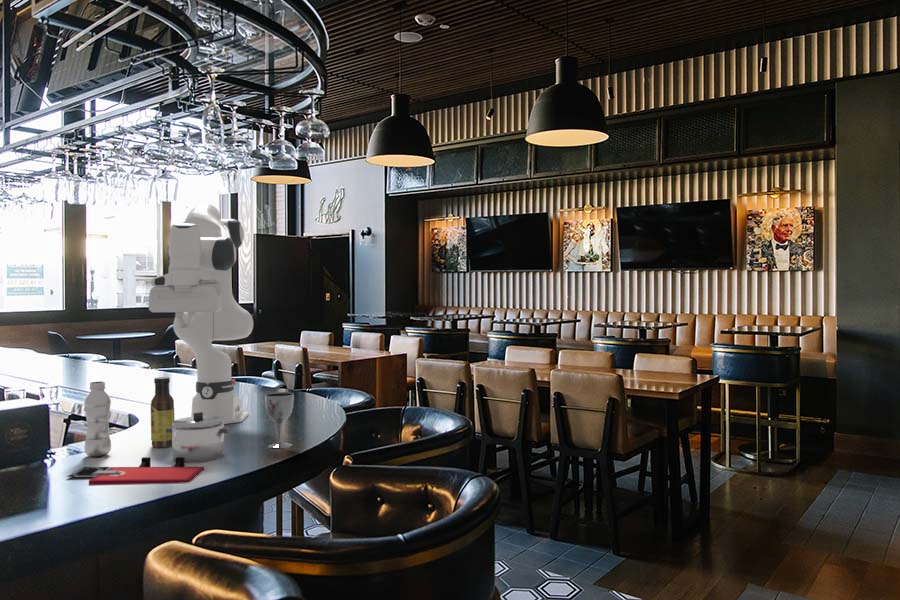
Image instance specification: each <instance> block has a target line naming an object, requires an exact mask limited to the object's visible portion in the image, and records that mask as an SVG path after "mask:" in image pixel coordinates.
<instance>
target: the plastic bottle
mask: <svg viewBox="0 0 900 600" xmlns="http://www.w3.org/2000/svg"><path fill="white" fill-rule="evenodd" d="M111 403H112V401H111V397H110V396H109V395H108V393H107V392H106V382H105V381H91V382H90V383H89V393H88V394H87V396H86V398H85V400H84V411H85V416H86V418H85V419H86V435H85V436H86V437H85V441H84V453H85V454H86V456H88V457H102V456H105V455H108V454H109V453H110V452H111V449H112V442H111V441H112V440H111V437H110V427H109V425H110V423H109V422H110V421H109V420H110V410H111Z"/></svg>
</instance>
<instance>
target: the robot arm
mask: <svg viewBox="0 0 900 600" xmlns="http://www.w3.org/2000/svg"><path fill="white" fill-rule="evenodd" d="M244 237H245V230H244V227H243V225H242V223H241V222H240V221H239V220H238V219H235V218H228V219H227V218H222V216H221V213H220V211H219V210H218V208H217V207H215V206H214V205H212V204H209V203H201V204H198V205H196V206H194V208H192V209H191V210H190V212H189V213H188V214H187V216H186V218H185V220H184V222H182V223H174V224H172V225H171V227H170V230H169V237H168V245H167V261H168V262H169V266H168V273H165V274H163V275H160V276H156V277H154V278H152V279H150V285H151V286H152V288H150V290H149V294H148V310H149V311H150V312H151V313H175V315H174V320H173V325H172V327H173V332H174V334H175V335H176V336H177V338H178V339H180V340H182V341H183V342H185V344H186V345H187V346H188V347H189V348H190V349H191V351H192V353H193V354H194V357H195V363H196V364H195V365H196V374H197V376H196V377H197V378H196V379H197V380H196V382H195V392H196V394H195V396H193V397H192V399H191V401H192V404H191V414H190V415H191V416H190V417H194V415H193V413H196V412H203V416H218V417H222V418H224V425H226V424H227V425H228V424H235V423H243V421H244V420H245V419H246V418H247V417H248V416H249V412H248V411H243V409H242V399H241V398H240V397H239V396H238V394H237V393H236V392H235V391H234V389H235V387H234V386H236V384H237V383H236V379H232V359H231V357H230V356H229V354H227V353H226V352H224V351H222V350H220V349H217V348H216V347H214V345H213V344H212V342H213V341H235V340H236V341H237V340H241V339H245V338H247V337H249V335H251V334H252V332H253V329H254V320H253V316H252V315H251V313H250V312H249V311H248V310H246V308H245V309H244V308H243V307H242V306H241V305H240V304H239V303H238V302H237V301H236V300H235V297H234V294H233V288H232V287H233V286H232V267H234V265H235V264H236V261H237V250H238V249H239V248H240V247H241V246H242V244H243V241H244Z"/></svg>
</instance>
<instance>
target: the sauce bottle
mask: <svg viewBox="0 0 900 600" xmlns="http://www.w3.org/2000/svg"><path fill="white" fill-rule="evenodd" d="M170 379H171V378H170V376H158V377H154V380H153V381H154V382H153V383H154V396H153V397H152V399H151V402H150V440H151V446H152V447H153V448H156V449H157V448H158V449H165V447H166V448H170V447H172V433H166V429H167V428H169V427H172V422H173V421H174V420H175V404H174V403H175V401H174V398H173V396H172V395H171V394H170V382H171V381H170Z"/></svg>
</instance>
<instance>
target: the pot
mask: <svg viewBox="0 0 900 600" xmlns="http://www.w3.org/2000/svg"><path fill="white" fill-rule="evenodd" d="M231 431H232V428H231V427H229V426H227V427H226V426H225V424H224V423H223V424H221V425H219V426H215V427H209V428H201V429H178V428H174V427H169V428H167V429H166V433H172V446H171V447H172V448H171V449H172V450H171V451H172V455H171V457H172V461H173V462H175V463H176V458H177V457H184V464H186V463H187V464H194V463H193V462H198V463H205V462H204V461H206V462H211V461H210V460H212V461H216V460H218V459H217V458H219V459H221V458H223V457H224V456H225V434H228V433H231ZM223 455H224V456H223ZM222 456H223V457H222ZM220 457H221V458H220ZM215 459H216V460H215Z"/></svg>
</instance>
